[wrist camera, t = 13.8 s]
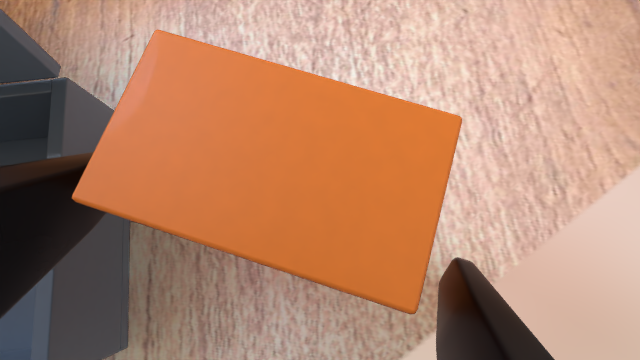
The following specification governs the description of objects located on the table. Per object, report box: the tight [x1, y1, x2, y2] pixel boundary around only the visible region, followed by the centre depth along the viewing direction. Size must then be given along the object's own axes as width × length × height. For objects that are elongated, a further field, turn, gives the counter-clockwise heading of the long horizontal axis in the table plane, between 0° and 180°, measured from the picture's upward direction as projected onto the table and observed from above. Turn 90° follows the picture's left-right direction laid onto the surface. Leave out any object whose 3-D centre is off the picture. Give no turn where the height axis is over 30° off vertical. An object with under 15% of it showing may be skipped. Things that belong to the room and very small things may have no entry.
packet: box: [72, 30, 462, 314], centre depth 11 cm, size 4×6×11 cm, turn 72°
